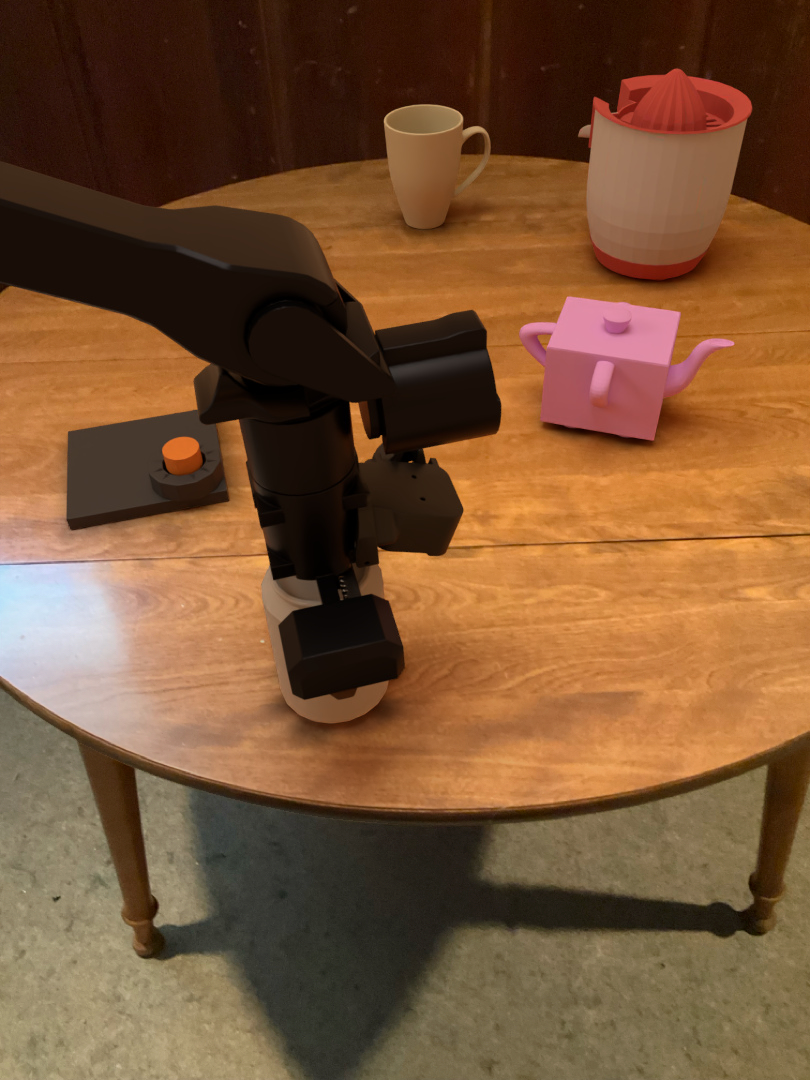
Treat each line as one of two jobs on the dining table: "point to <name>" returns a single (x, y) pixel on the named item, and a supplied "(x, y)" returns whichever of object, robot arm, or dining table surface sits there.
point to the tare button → (182, 456)
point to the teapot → (611, 365)
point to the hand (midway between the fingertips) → (332, 643)
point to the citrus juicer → (662, 171)
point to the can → (277, 606)
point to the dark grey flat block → (139, 470)
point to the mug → (428, 160)
